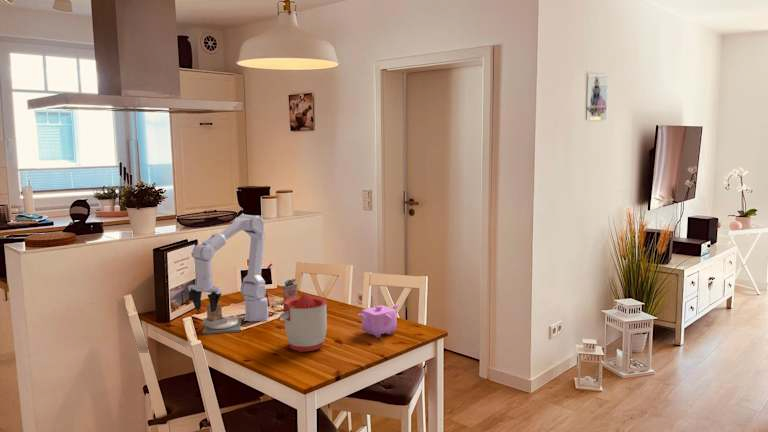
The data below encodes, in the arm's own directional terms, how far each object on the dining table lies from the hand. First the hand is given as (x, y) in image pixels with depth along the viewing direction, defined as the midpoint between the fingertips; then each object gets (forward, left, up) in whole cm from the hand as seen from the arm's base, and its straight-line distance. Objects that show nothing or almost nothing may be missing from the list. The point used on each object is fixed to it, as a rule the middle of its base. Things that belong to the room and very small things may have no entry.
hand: (205, 310), depth 232 cm
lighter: (-32, -42, -10) cm, 54 cm away
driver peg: (-3, -5, -7) cm, 9 cm away
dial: (-5, -8, -9) cm, 12 cm away
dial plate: (-5, -8, -10) cm, 14 cm away
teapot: (-66, +11, -10) cm, 68 cm away
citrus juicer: (-37, +21, -10) cm, 44 cm away
